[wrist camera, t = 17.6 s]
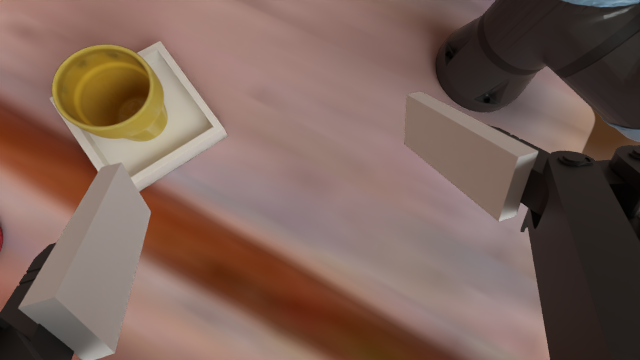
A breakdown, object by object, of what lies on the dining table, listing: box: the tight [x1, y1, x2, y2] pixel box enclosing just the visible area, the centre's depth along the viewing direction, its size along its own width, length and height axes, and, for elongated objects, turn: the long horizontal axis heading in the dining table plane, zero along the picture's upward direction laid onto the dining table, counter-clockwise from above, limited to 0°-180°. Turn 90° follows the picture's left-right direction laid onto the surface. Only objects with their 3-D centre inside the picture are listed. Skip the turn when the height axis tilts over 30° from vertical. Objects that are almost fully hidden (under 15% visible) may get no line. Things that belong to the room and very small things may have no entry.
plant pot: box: [52, 44, 168, 142], centre depth 37 cm, size 10×10×10 cm
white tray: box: [49, 41, 228, 191], centre depth 42 cm, size 16×16×3 cm
